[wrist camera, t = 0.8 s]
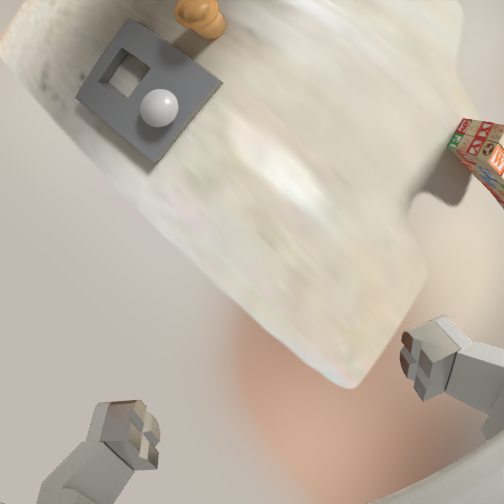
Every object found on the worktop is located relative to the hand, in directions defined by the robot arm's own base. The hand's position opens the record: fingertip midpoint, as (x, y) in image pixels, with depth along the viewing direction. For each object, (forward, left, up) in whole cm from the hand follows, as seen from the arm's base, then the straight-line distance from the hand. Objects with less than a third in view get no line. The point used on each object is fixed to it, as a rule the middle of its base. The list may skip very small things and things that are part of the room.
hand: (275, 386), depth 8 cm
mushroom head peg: (-23, -3, -39) cm, 45 cm away
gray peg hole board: (-18, -15, -39) cm, 45 cm away
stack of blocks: (+10, +36, -39) cm, 54 cm away
